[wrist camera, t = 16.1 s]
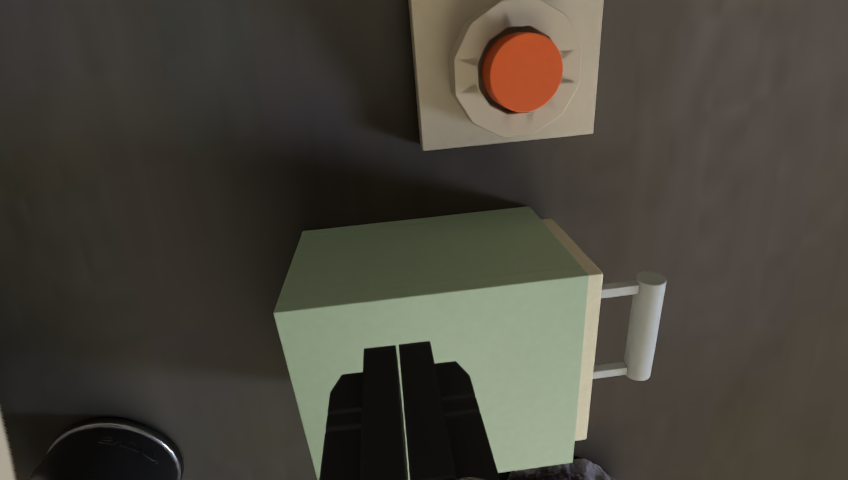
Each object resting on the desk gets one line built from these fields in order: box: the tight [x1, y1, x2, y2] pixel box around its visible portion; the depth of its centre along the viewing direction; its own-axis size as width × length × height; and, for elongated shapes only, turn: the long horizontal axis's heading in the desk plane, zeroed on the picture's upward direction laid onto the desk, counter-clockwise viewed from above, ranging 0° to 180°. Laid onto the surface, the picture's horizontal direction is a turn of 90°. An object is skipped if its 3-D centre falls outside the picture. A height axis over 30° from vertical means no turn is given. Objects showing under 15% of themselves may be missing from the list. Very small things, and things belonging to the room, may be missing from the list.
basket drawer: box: [541, 218, 666, 441], centre depth 28 cm, size 19×12×7 cm, turn 95°
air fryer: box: [273, 206, 589, 480], centre depth 28 cm, size 15×13×9 cm
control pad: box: [408, 0, 604, 151], centre depth 24 cm, size 10×8×4 cm
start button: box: [482, 32, 563, 112], centre depth 22 cm, size 4×4×2 cm
